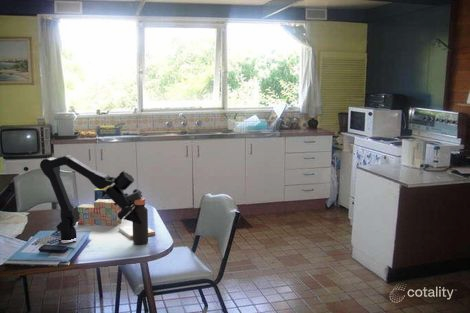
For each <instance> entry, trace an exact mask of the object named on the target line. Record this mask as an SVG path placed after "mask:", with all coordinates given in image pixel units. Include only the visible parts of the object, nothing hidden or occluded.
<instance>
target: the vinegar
mask: <svg viewBox="0 0 470 313" xmlns="http://www.w3.org/2000/svg"><path fill="white" fill-rule="evenodd" d="M134 205H135V207H134V211H135V214H136V216H137V217H138V218H139V220H140V221H141V222H142V224H137V223H134V222H132V225H133V239H132V242H133V244H135V245H144V244H147V243H149V236H148V228H149V216H148V212H149V211H148V210H149V209H148V208H147V207H146V198H145V197H141V198H140V199H138V200H135V201H134Z"/></svg>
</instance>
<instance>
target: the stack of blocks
mask: <svg viewBox="0 0 470 313" xmlns="http://www.w3.org/2000/svg"><path fill="white" fill-rule="evenodd" d="M114 204H115V202H114V201H113V200H112V199H98V200H96V201H95V200H94V201H93V204H91V203H89V204H88V203H85V204H84V203H83V204H80V205H78V206H77V208H78V211H79V213H80V215H79V216H80V219H79V221H78V222H77V224H78V225H87V226H89V225H90V226H107V227H109V226H111V227H118V226H119V225H121V224H122V223H121V222H122V221H123V219H121V220H120V219H119V218H118V213H119V212H120V211H121V208H120V207H119V206H118V205H116V206H115V205H114Z"/></svg>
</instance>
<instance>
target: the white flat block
mask: <svg viewBox="0 0 470 313" xmlns="http://www.w3.org/2000/svg"><path fill="white" fill-rule="evenodd" d="M118 231H119V232H121V234H123V235H125V237H127V238H128V239H130V240H133V224H132V225H127V226H121V227H118ZM151 235H152V236H156V231H155V230H153V229H151V228H150V227H148V237H151Z"/></svg>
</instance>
